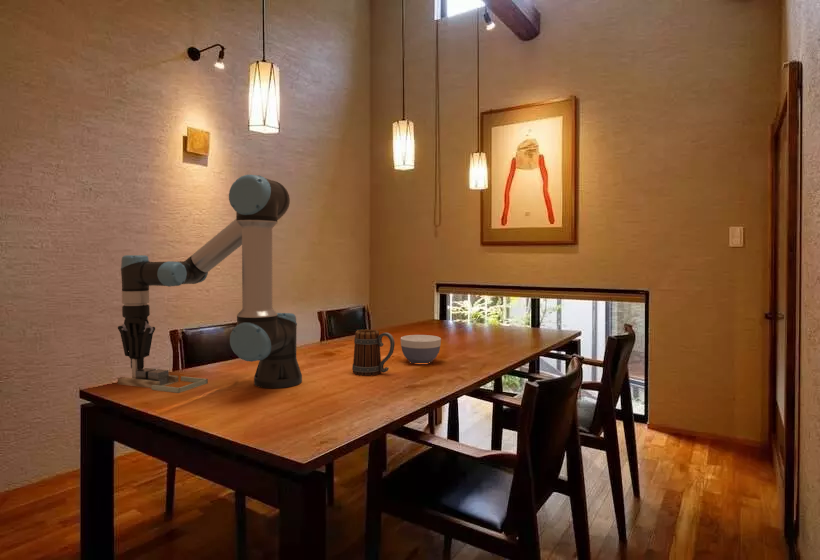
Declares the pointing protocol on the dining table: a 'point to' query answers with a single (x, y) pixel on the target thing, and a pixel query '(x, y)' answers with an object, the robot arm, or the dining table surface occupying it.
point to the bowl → (420, 348)
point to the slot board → (145, 381)
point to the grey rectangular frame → (177, 390)
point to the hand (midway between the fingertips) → (137, 378)
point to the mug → (370, 352)
